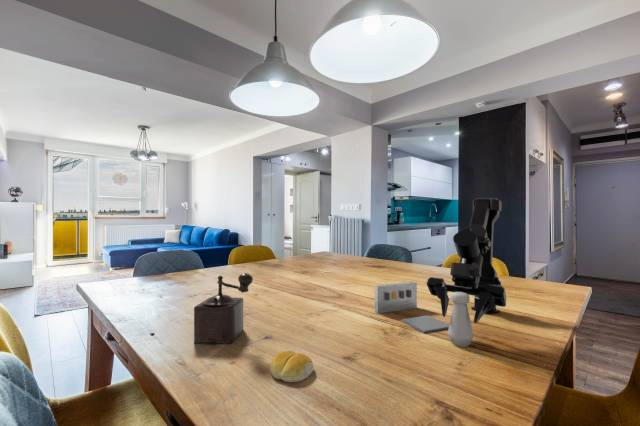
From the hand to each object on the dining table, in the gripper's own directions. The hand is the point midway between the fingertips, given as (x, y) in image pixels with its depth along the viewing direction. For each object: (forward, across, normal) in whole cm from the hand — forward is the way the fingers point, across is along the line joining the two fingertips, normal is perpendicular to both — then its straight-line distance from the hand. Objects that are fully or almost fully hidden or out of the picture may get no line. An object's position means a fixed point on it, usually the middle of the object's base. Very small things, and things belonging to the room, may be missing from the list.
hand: (458, 319), depth 76 cm
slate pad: (-2, -12, +11) cm, 16 cm away
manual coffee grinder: (+28, -51, -18) cm, 61 cm away
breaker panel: (-7, -25, +16) cm, 30 cm away
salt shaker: (+4, 0, +6) cm, 7 cm away
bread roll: (+30, -24, -20) cm, 43 cm away
